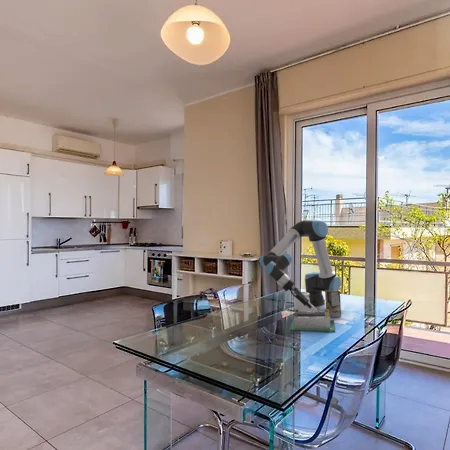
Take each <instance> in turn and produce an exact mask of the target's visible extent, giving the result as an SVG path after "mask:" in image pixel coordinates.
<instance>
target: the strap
mask: <svg viewBox="0 0 450 450" xmlns="http://www.w3.org/2000/svg"><path fill="white" fill-rule="evenodd" d="M295 312H298V315H315V316H325V312H314V313H313V312H305V311H295Z"/></svg>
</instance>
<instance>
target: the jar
mask: <svg viewBox="0 0 450 450" xmlns="http://www.w3.org/2000/svg"><path fill="white" fill-rule="evenodd" d="M300 292H301V293H302V294H303V295H304V296H305V297H306V298H307V299H308V300H309V301H308V302H310V299H309V293H308V292H306V291H300ZM292 301H293V307H294V311H295V312H296V309H298V311H310V309H309V308H308V307H307V306H306V305H305V306H304V305H303V303H301V302H300V301H299V300H298V299H297V298H296V297H294V296H293V300H292Z"/></svg>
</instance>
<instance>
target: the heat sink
mask: <svg viewBox="0 0 450 450" xmlns="http://www.w3.org/2000/svg"><path fill="white" fill-rule="evenodd" d="M296 311H298V309H296ZM296 311H295V312H294V316H293V318H292V321H291V324H290V328H289V331H290V332H310V333H311V332H313V333H317V332H318V333H336V326H335V319H330V318H331V316H330V314H329V309H326V308H325V309H324V311H318V310H316V311H315V312H325V316H315V315H298V312H296ZM305 312H312V311H311V310H309V311H305Z"/></svg>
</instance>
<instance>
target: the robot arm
mask: <svg viewBox="0 0 450 450" xmlns="http://www.w3.org/2000/svg"><path fill="white" fill-rule="evenodd" d="M328 233H329V227H328V224H327V223H326V222H325V220H323V219H307V220H306V219H305V220H304V219H303V220H301V221H299V222H297V223H295V224H294V225H292V226H291V227H290V229H288V231H287V233H286V234H285V235H284V236H283V237H282V238H281V240H279V241H278V242H277V244H276V245H275V246H273V248H272V249H271V250H270V251H269V252H268V253H267V254H264V255H263V254H262V255H261V256H260V258H259V260H258V261H259V265H261V267H264V269H263V270H264V271H265V272H266V274H268V276H269V277H271V278H272V280H274V281H275V283H277V284H276V285H277V286H278V285H279V286H280V287H282V289H283V290H284V291H285V292H288V291H289V292H290V294H291V295H292V296H293V298H294V297H296V298H297V299H298V300H299V301H300V302H301V303H303V305H304V306H305V305H306V306H307V307H308V308H309V311H312V312H313V313H314V312H315V311H318V309H317V307H318V306H319V307H320V306H325V305H326V300H325V296H324V295H323V292H325V290H330V289H334V290H337V291H340V289H341V285H342V280H341V277H340V276H338V275H336V271H335V270H333V267H332V264H331V260H330V255H329V252H328V248H327V243H326V238H327V236H328ZM304 237H305V238H308V239H309V242H311V244H312V247H313V250H314V255H315V258H316V261H317V265H318V270H319V271H314V272H308V273H306V274H305V275H304V284H305V292H308V293H309V299H310V302H308V301H309V300H308V299H307V298H306V297H305V296H304V295H303V294H302V293H301V292H302V291H300V290H299V288H297V287H296V286H294V285H296V283H295V281H294V280H292V279H291V277H290V276H289V275H288V274H287V273H286V272H284V271H285V270H286V269H287V268H288V267H289V266H290V265H291V263H292V262H293V257H292V255H290V254H289V253H288V252H287V251H288V250H289V248H290V247H292V245H293V244H294V243H296V241H298V240H300V239H301V238H304Z"/></svg>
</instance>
